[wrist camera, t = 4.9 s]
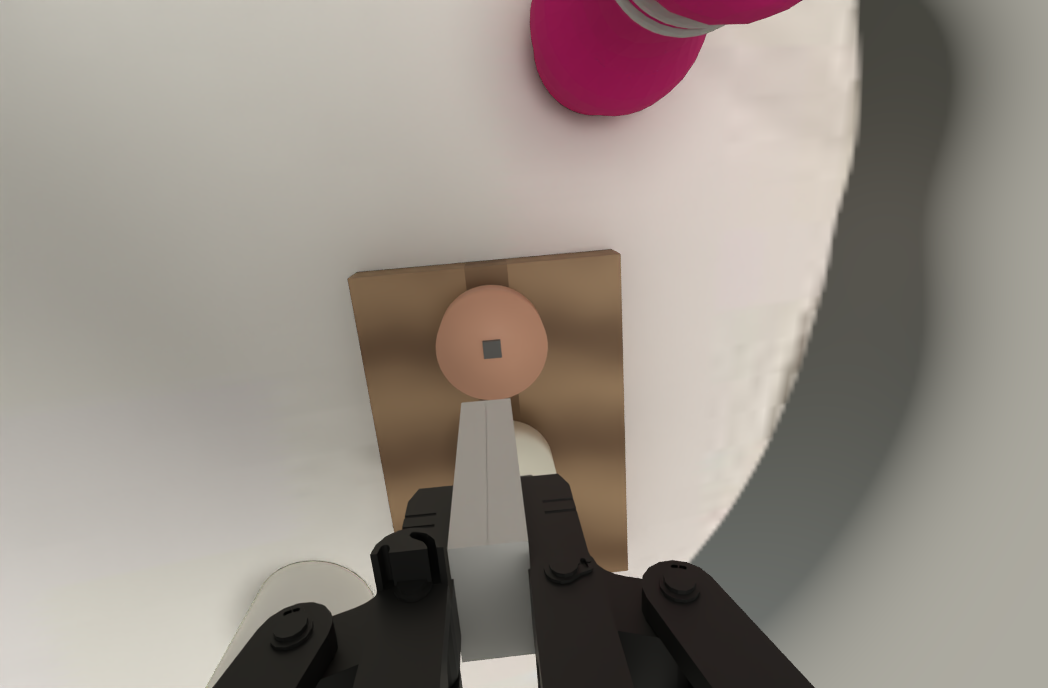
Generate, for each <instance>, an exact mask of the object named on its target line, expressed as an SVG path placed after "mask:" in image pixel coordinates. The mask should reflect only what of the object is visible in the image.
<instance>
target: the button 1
mask: <svg viewBox="0 0 1048 688" xmlns="http://www.w3.org/2000/svg"><path fill="white" fill-rule="evenodd" d="M547 352H548V341H547V335H546V331H545V328H544V326H543V323H542V321H541V318H540V316H539V314H538V312H537V310H536V308H535V307H534V305H533V304H532V303H531V302H530V301H529V300H528V299H527V298H526V297H525V296H524V295H522V294H521V293H519V292H517V291H516V290H514V289H511V288H508V287H505V286H501V285H483V286H478V287H475V288H472V289H470V290H467V291H465V292H464V293H462V294H461V295H459V296H458V297H457V298H456V299H455V300H454V301H453V302H452V303H451V304H450V305H449V307H448V308H447V310H446V312H445V314H444V316H443V318H442V321H441V324H440V327H439V330H438V333H437V338H436V356H437V361H438V363H439V366H440V369H441V370H442V372H443V374H444V376H445V377H446V378H447V380H448V381H449V382H450V383H451V384H452V385H453V386H454V387H455V388H457V389H458V390H460V391H461V392H463V393H465V394H467V395H469V396H471V397H474V398H478V399H483V400H497V399H505V398H509V397H512V396H514V395H517V394H519V393H520V392H522V391H524V390H525V389H527V388H528V387H529V386H530V385H531V384H532V383H533V382H534V381H535V380H536V379H537V377H538V376H539V375H540V373H541V371H542V369H543V367H544V365H545V362H546V358H547Z"/></svg>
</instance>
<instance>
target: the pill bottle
mask: <svg viewBox="0 0 1048 688" xmlns="http://www.w3.org/2000/svg"><path fill="white" fill-rule="evenodd" d="M372 598H374V597H373V595H372V592H371V590H370V589H369V587H368V586H367V585H366V583H365V582H364V581H363V580H362V579H361V578H360V577H358V576H357V575H356V574H354V573H353V572H351V571H350V570H348V569H346V568H344V567H341V566H339V565H336V564H332V563H327V562H319V561H307V562H299V563H295V564H292V565H288V566H286V567H284V568H282V569H280V570H278V571H277V572H275V573H274V574H272V575H271V576H270V577H269V578H268V579H267V580H266V581H265V583H264V584H263V585H262V587H261V589H260V591H259V592H258V594H257V596H256V598H255V599H254V601H253V603H252V605H251V607H250V608H249V610H248V612H247V614H246V616H245V617H244V619H243V621H242V623H241V625H240V626H239V628H238V630H237V632H236V634H235V635H234V637H233V639H232V641H231V643H230V644H229V646H228V648H227V650H226V652H225V653H224V655H223V657H222V659H221V661H220V662H219V664H218V666H217V668H216V669H215V671H214V673H213V675H212V677H211V678H210V680H209V682H208V684H207V686H206V687H205V688H212V687H213V686H214V685H215V684H216V682H217V681H218V680H219V678H220V677H221V676H222V675H223V673H224V672H225V671H226V669H227V668H228V667H229V665H230V664H231V663H232V662H233V660H234V659H235V658H236V656H237V655H238V654H239V653H240V651H241V650H242V649H243V647H244V646H245V645H246V644H247V642H248V641H249V640H250V638H251V637H252V636H253V634H254V633H255V632H256V631H257V629H258V628H259V627H260V626H261V625H262V624H263V623H264V622H265V621H266V620H267V619H268V618H269V617H271V616H272V615H274V614H276V613H277V612H279V611H280V610H282V609H284V608H286V607H289V606H292V605H295V604H298V603H306V602H315V603H318V604H322V605H325V606H326V607H327V609H328V610H329V611H330V612H331V614H332V616H334V615H337V614H339V613H342V612H345V611H348V610H350V609H353V608H355V607H358V606H360V605H362V604H364V603H366V602H368V601H369V600H371V599H372Z"/></svg>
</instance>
